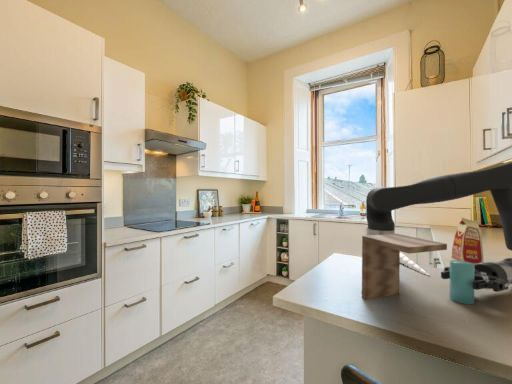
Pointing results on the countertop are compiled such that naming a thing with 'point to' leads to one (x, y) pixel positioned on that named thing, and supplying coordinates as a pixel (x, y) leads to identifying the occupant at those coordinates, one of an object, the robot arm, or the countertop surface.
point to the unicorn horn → (411, 264)
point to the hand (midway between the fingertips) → (457, 280)
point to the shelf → (388, 261)
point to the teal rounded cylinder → (462, 281)
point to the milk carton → (468, 242)
